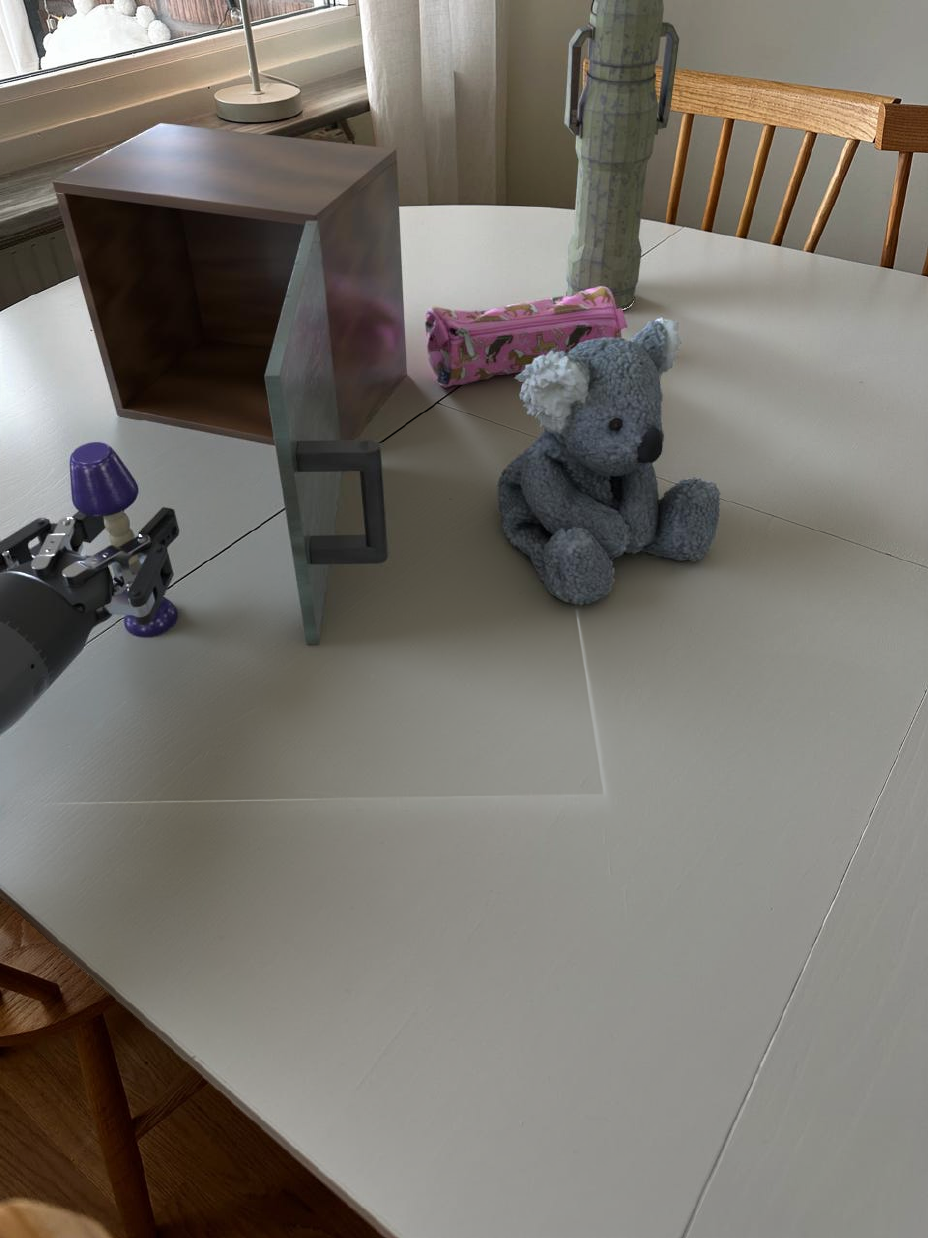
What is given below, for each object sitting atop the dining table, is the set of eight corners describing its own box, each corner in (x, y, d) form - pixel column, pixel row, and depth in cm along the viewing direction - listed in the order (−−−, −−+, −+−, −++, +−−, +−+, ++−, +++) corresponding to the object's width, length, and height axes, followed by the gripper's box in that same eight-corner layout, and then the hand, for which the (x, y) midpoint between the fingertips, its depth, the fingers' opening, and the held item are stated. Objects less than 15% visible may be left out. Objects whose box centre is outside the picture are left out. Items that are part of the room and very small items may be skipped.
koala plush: (568, 626, 79) (588, 415, 66) (452, 514, 91) (449, 314, 77) (726, 554, 86) (773, 350, 73) (600, 459, 97) (621, 266, 84)
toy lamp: (175, 639, 78) (122, 466, 67) (116, 646, 78) (52, 473, 66) (179, 599, 82) (128, 428, 70) (122, 606, 81) (62, 434, 70)
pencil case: (440, 405, 105) (439, 328, 99) (421, 365, 112) (418, 290, 106) (626, 379, 109) (636, 303, 103) (597, 341, 116) (604, 268, 110)
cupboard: (341, 459, 97) (315, 215, 81) (117, 415, 104) (51, 180, 87) (407, 375, 110) (396, 148, 94) (203, 340, 116) (160, 122, 100)
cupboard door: (401, 461, 97) (388, 219, 81) (391, 644, 78) (371, 374, 62) (332, 462, 97) (305, 220, 81) (306, 645, 78) (264, 375, 62)
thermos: (543, 290, 126) (560, -32, 102) (627, 279, 128) (663, -38, 105) (568, 320, 120) (593, -16, 96) (657, 307, 122) (701, -23, 99)
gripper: (73, 640, 59) (214, 486, 71) (-117, 590, 63) (48, 452, 75) (104, 722, 64) (231, 566, 76) (-73, 672, 68) (75, 530, 80)
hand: (140, 510), depth 75 cm, fingers open, 5 cm apart
